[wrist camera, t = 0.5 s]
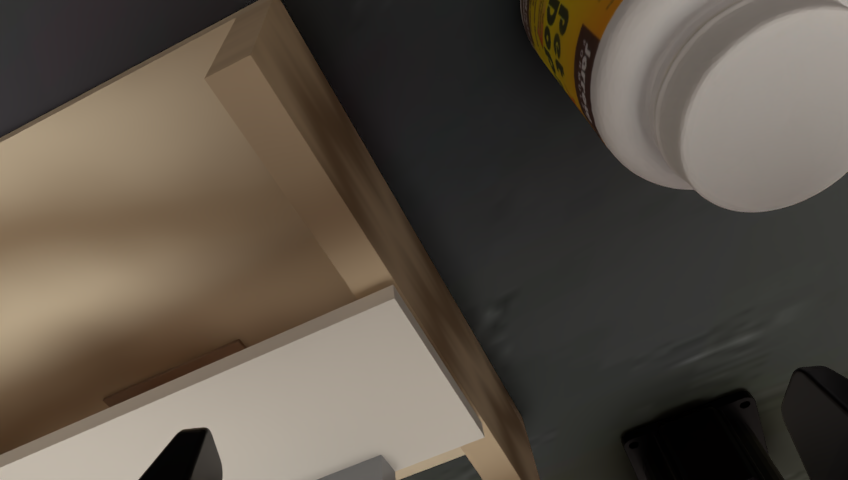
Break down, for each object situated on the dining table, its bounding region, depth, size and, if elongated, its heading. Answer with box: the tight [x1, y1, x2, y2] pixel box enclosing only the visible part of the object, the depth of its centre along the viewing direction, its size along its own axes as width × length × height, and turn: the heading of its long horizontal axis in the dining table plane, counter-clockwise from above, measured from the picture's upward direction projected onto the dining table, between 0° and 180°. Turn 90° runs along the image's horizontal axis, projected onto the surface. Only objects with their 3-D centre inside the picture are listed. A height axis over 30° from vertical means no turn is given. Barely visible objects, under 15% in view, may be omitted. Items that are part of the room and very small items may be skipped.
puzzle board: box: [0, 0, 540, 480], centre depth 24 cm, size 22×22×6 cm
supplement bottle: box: [520, 0, 848, 212], centre depth 16 cm, size 6×6×10 cm
